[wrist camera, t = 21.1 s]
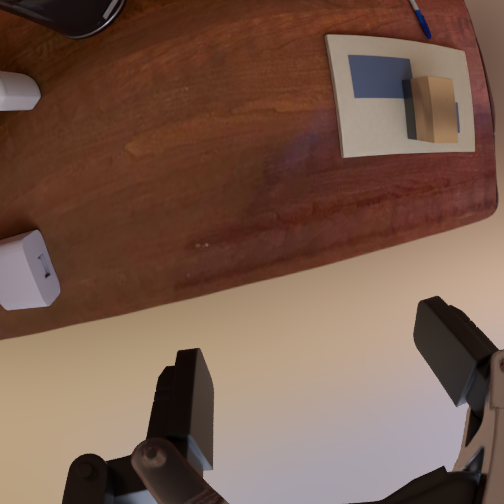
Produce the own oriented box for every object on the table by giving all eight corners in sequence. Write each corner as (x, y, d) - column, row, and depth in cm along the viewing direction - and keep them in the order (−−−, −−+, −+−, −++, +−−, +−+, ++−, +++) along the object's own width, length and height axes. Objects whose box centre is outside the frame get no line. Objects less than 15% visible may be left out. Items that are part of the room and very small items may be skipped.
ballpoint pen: (431, 38, 26) (435, 37, 25) (426, 39, 26) (430, 38, 25) (394, -30, 22) (398, -33, 21) (389, -30, 22) (393, -33, 21)
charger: (-24, 246, 32) (39, 227, 32) (-3, 299, 36) (62, 290, 36) (-42, 259, 28) (20, 240, 28) (-18, 314, 32) (47, 309, 32)
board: (323, 36, 27) (326, 33, 26) (460, 52, 27) (465, 51, 26) (340, 156, 32) (344, 157, 31) (470, 150, 32) (475, 151, 31)
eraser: (400, 80, 28) (427, 75, 23) (424, 82, 28) (452, 79, 23) (407, 138, 30) (434, 143, 25) (430, 138, 30) (458, 143, 25)
